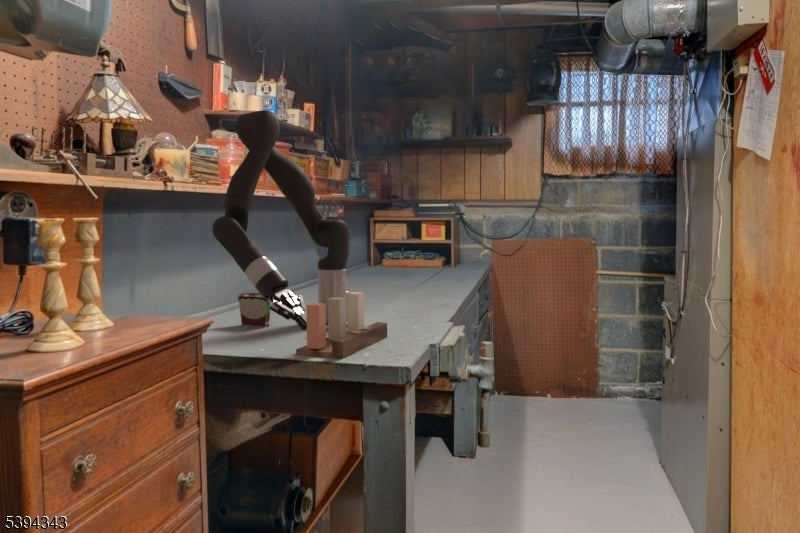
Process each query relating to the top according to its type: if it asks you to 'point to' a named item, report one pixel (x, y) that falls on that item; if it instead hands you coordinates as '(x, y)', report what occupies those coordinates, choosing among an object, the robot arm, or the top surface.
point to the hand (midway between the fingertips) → (307, 327)
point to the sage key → (336, 317)
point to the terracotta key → (316, 325)
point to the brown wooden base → (348, 342)
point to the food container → (254, 309)
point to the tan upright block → (355, 311)
